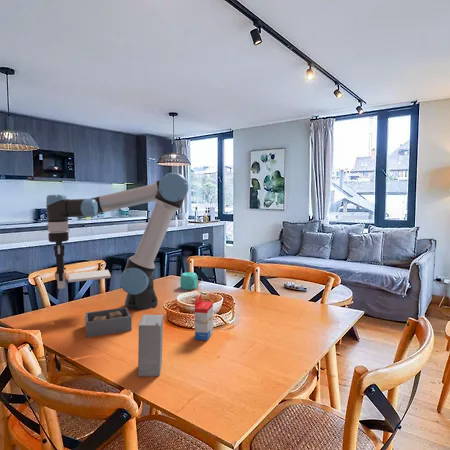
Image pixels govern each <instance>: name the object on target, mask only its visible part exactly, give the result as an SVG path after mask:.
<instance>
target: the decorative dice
mask: <svg viewBox="0 0 450 450" xmlns="http://www.w3.org/2000/svg"><path fill="white" fill-rule="evenodd" d="M198 279H199V278H198V275H197V273H196V272H192V271H191V272H189V271H188V272H183V273H181V275H180V280H179V281H180V288H181V289H183V290H184V291H185V290H187V291H190V290H195V289H197V287H198V283H199V280H198Z"/></svg>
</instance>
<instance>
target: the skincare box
mask: <svg viewBox="0 0 450 450" xmlns="http://www.w3.org/2000/svg"><path fill="white" fill-rule="evenodd" d="M163 331H164V314H142V316H141V318H140V320H139V322H138V353H137V354H138V355H137V356H138V357H137V359H138V361H137V367H138V368H137V375H138V377H139V378H140V377H160V376H161V370H162V364H163V340H164V339H163V338H164V335H163V334H164V333H163Z"/></svg>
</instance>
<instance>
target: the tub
mask: <svg viewBox="0 0 450 450" xmlns="http://www.w3.org/2000/svg"><path fill="white" fill-rule="evenodd" d="M116 311H120V312H121V313H122V317H119V318H112V319H109V313H111V312H116ZM84 315H85V316H84V318H85V319H84V320H85V333H86V338H91V337H92V338H93V337H99V336H106V335H111V334H117V333H124V332H130V331H132V330H133V327H132V325H133V323H132V315H131V312H130V311H129V309H128V308H127V307H125V306H124V307H117V308H108V309H103V310H95V311H88V312H85V313H84ZM96 316H106V319H105V320H99V321H93V320H94V318H95V317H96Z"/></svg>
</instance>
